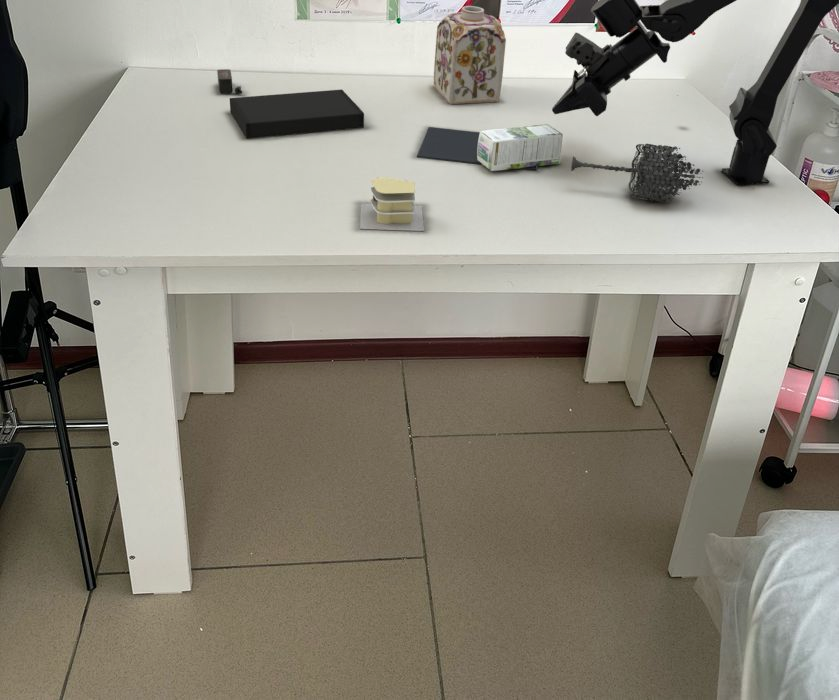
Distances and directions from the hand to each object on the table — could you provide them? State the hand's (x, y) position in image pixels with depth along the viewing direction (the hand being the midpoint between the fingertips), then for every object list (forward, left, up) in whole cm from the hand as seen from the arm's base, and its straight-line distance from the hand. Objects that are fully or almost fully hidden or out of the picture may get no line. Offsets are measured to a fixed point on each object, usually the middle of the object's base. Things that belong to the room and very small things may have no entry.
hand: (553, 111), depth 165 cm
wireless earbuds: (+40, +56, -9) cm, 70 cm away
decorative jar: (+34, +6, -9) cm, 36 cm away
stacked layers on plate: (-22, +34, -9) cm, 41 cm away
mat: (+5, +12, -9) cm, 15 cm away
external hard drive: (+22, +44, -9) cm, 50 cm away
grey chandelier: (-19, -9, -9) cm, 22 cm away
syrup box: (-2, -1, -5) cm, 6 cm away
